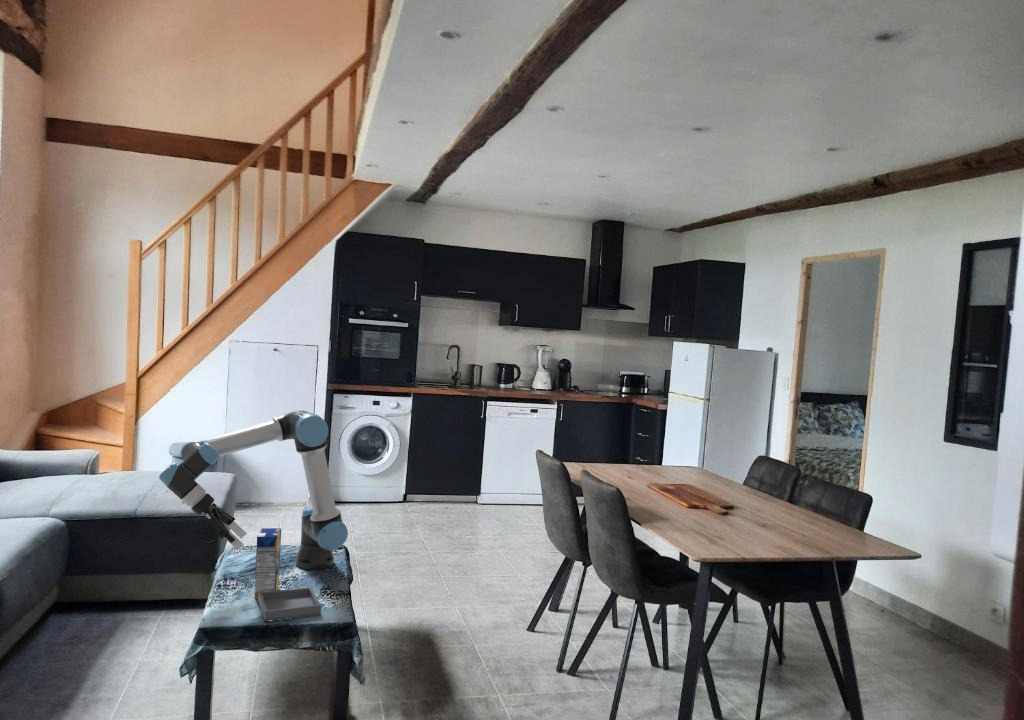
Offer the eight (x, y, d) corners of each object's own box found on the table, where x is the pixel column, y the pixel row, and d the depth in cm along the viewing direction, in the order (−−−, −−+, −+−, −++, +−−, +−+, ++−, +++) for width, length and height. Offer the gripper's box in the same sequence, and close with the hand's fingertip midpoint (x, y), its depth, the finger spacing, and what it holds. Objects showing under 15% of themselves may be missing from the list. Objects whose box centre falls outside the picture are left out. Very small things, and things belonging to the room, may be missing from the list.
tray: (310, 596, 261) (311, 587, 261) (320, 615, 245) (321, 605, 245) (258, 602, 254) (258, 592, 253) (264, 622, 237) (265, 611, 237)
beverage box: (254, 598, 257) (256, 536, 256) (259, 587, 268) (261, 528, 267) (274, 598, 258) (277, 536, 257) (278, 587, 269) (281, 528, 268)
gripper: (195, 499, 266) (237, 538, 271) (184, 517, 242) (230, 560, 247) (211, 484, 267) (253, 524, 272) (201, 501, 243) (247, 544, 248)
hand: (242, 541), depth 260 cm, fingers open, 13 cm apart
